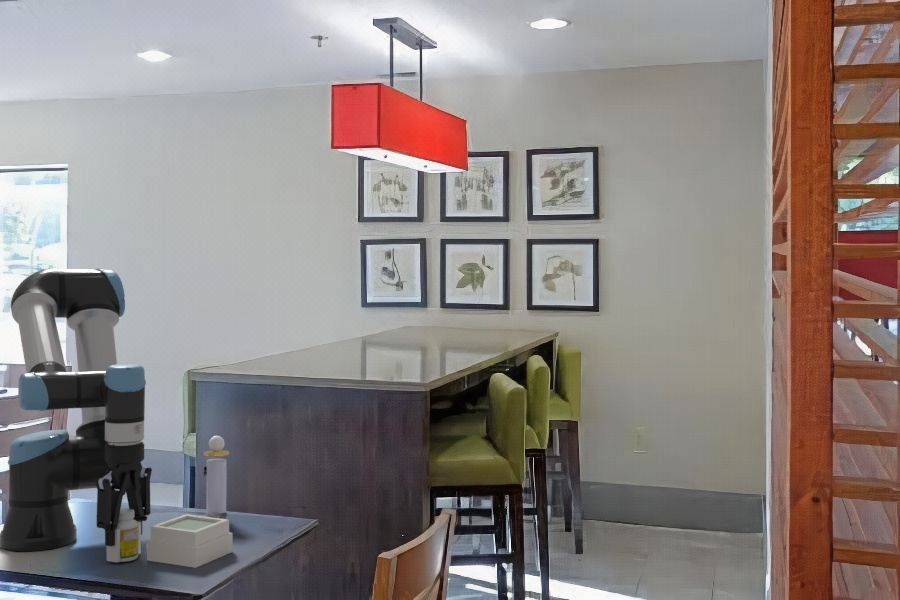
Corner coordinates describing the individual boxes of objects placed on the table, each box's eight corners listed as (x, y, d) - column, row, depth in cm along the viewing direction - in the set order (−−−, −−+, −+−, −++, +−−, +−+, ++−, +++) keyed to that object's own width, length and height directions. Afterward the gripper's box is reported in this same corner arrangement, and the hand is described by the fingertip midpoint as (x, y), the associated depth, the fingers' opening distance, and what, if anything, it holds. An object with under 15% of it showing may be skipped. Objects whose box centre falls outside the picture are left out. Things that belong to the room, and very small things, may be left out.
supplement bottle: (142, 558, 187) (142, 511, 187) (117, 564, 183) (117, 516, 183) (130, 552, 191) (130, 506, 190) (105, 558, 187) (105, 510, 187)
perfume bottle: (234, 519, 220) (234, 435, 220) (216, 524, 215) (217, 438, 215) (215, 516, 223) (216, 433, 223) (198, 521, 218) (198, 436, 218)
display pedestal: (146, 560, 187) (147, 526, 187) (185, 545, 198) (185, 513, 198) (195, 567, 182) (195, 533, 182) (232, 551, 193) (232, 519, 193)
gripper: (106, 451, 176) (105, 572, 177) (170, 436, 193) (169, 547, 194) (75, 447, 179) (75, 567, 180) (141, 433, 196) (140, 542, 197)
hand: (123, 556), depth 187 cm, fingers closed on supplement bottle, 5 cm apart
